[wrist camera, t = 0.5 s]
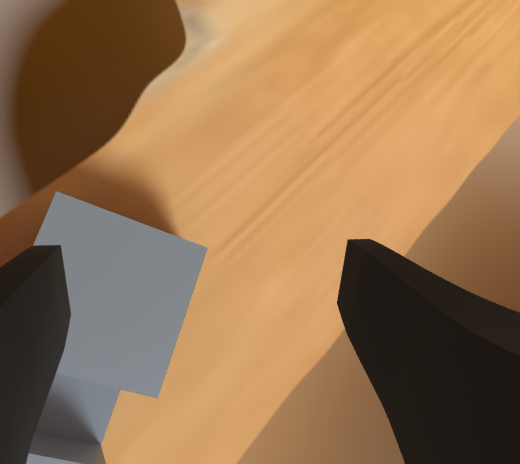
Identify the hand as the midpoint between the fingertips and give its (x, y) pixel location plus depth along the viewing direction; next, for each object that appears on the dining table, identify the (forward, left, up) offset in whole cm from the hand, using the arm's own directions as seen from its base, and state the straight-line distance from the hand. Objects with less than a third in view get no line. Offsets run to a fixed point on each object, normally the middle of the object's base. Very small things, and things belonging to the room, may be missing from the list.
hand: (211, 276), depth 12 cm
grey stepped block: (-4, 0, -25) cm, 26 cm away
